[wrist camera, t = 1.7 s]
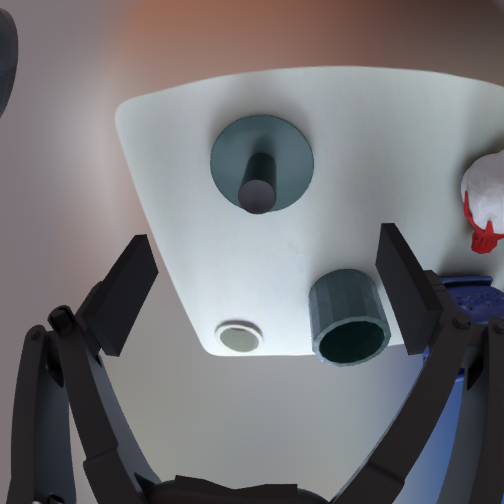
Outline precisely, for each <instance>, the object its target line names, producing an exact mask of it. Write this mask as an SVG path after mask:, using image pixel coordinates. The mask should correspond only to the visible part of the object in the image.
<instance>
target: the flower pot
mask: <svg viewBox="0 0 504 504" xmlns="http://www.w3.org/2000/svg"><path fill="white" fill-rule="evenodd" d="M440 279H441V281H442V283H443V285H444V286H445V288H446V289H447V290H446V291H448V293H449V295H450V297H451V298H452V300H453V302H454V304H455V306H456V307H457V309H458V311H460V312H464V313H465V314H467V315H468V316H469V317H470V318H471V319H472V322H473V323H479V324H486V325H487V323H488V321H489V320H490V319H491V318H492V317H500V318H503V319H504V293H503V292H501V291H500V290H498V289H496V288H494V287H491V284H492V281H493V278H492V277H491V276H463V277H446V278H440ZM429 353H430V349H429V347H428V345H427V347H426V349H425V351H424V353H422V354H423V365H424V363H425V361H426V359H427V357H428V355H429ZM464 370H465V368H461V367H460V370H459V373H458V375H457V378H456V381H460V380H464ZM456 381H455V382H456Z"/></svg>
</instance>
